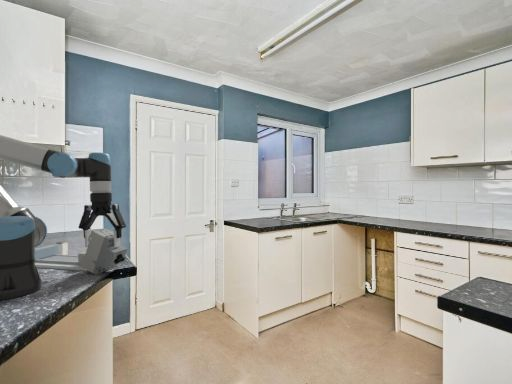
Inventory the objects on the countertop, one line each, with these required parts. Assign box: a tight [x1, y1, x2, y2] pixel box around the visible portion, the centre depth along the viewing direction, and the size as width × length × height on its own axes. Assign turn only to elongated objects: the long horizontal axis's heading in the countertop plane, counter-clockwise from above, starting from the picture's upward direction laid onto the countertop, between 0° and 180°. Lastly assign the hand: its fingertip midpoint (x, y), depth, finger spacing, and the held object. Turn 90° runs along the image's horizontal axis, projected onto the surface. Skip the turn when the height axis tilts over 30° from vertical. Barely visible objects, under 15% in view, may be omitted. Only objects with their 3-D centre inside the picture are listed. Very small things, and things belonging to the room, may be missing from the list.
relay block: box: [53, 240, 69, 255], centre depth 137 cm, size 5×4×7 cm
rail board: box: [35, 244, 87, 272], centre depth 123 cm, size 16×32×6 cm, turn 79°
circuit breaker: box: [79, 228, 128, 275], centre depth 110 cm, size 8×14×15 cm, turn 78°
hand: (102, 246), depth 110 cm, fingers open, 12 cm apart
